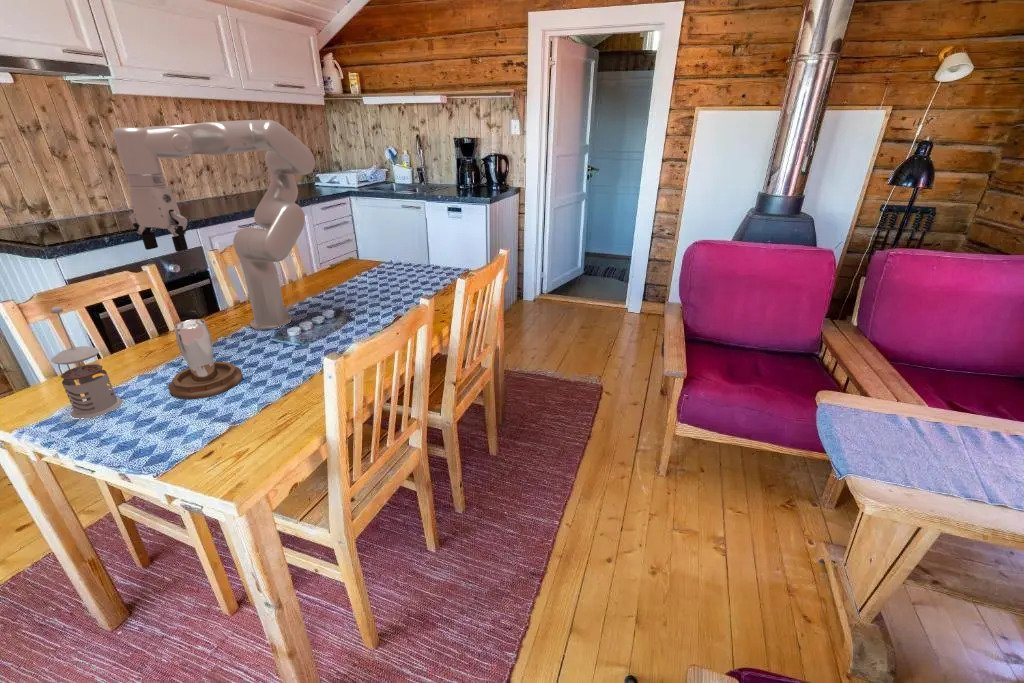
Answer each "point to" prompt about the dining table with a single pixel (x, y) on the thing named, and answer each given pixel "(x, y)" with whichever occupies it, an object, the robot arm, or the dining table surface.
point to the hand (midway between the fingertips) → (167, 249)
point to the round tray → (206, 393)
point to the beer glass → (197, 350)
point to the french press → (85, 381)
